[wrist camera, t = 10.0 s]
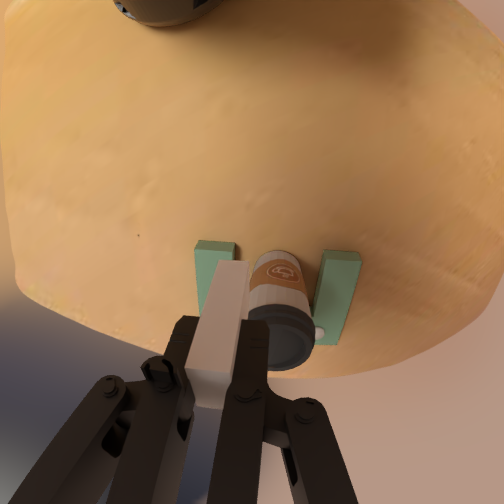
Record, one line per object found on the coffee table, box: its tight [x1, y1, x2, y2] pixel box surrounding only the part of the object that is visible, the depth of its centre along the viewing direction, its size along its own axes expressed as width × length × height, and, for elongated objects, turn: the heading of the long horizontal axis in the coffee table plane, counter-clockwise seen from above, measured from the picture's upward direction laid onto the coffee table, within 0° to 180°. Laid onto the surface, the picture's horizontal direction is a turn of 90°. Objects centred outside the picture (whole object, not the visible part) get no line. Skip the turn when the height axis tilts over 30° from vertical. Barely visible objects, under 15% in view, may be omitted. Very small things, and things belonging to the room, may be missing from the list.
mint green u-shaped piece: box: [194, 240, 362, 345], centre depth 41 cm, size 16×22×3 cm
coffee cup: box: [248, 250, 316, 371], centre depth 34 cm, size 8×8×15 cm
